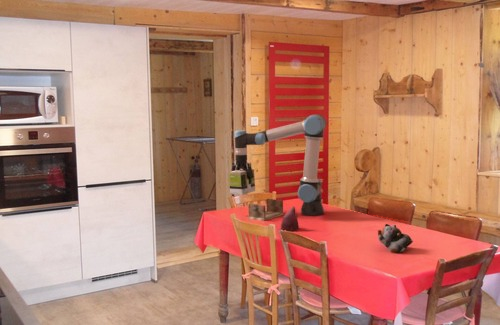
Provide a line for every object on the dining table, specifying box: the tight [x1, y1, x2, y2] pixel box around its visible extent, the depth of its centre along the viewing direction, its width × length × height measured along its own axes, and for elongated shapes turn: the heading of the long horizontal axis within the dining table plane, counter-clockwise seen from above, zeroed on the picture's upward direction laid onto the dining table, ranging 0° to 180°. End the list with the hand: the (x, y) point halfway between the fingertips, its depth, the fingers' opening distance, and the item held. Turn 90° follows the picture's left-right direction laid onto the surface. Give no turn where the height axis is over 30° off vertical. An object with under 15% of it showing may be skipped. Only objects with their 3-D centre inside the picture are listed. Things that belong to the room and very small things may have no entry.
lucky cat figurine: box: [377, 223, 414, 254], centre depth 268 cm, size 15×12×14 cm
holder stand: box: [248, 198, 284, 222], centre depth 349 cm, size 12×23×10 cm, turn 143°
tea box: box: [228, 168, 256, 196], centre depth 354 cm, size 15×10×15 cm, turn 144°
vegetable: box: [280, 206, 300, 232], centre depth 315 cm, size 10×10×15 cm
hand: (242, 188), depth 354 cm, fingers closed on tea box, 10 cm apart
